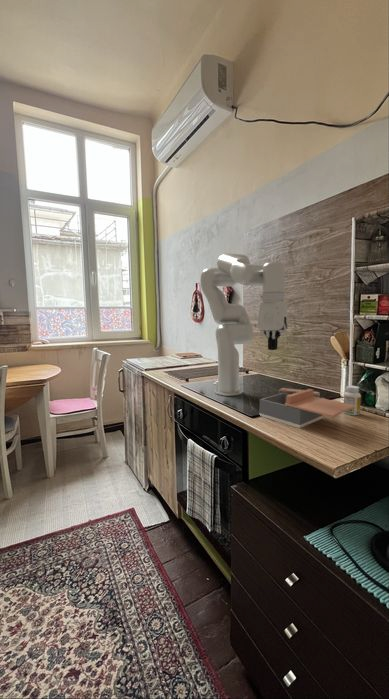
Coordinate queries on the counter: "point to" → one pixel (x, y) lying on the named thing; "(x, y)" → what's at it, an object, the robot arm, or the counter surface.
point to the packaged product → (292, 391)
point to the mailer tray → (286, 411)
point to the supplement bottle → (352, 399)
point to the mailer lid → (316, 404)
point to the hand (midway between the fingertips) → (272, 349)
